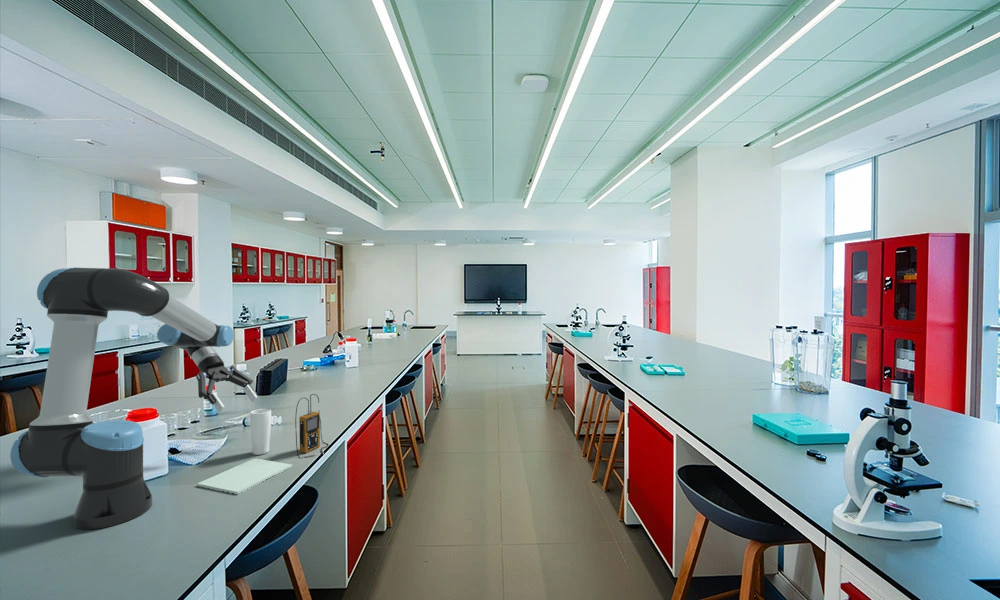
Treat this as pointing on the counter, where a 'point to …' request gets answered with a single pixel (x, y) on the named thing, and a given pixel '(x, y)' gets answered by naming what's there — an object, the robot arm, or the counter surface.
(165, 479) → the counter surface
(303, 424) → the multimeter
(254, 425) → the white cup
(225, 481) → the mat
